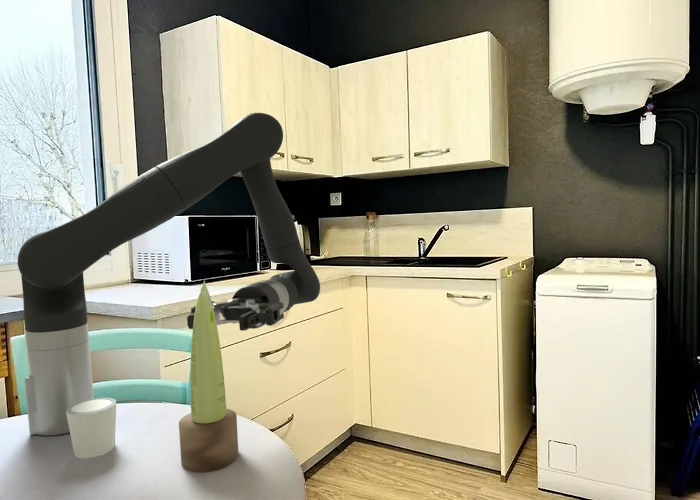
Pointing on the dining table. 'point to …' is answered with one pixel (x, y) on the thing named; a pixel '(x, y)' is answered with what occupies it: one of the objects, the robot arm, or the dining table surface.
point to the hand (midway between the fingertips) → (215, 323)
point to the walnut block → (208, 443)
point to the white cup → (92, 426)
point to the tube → (206, 364)
